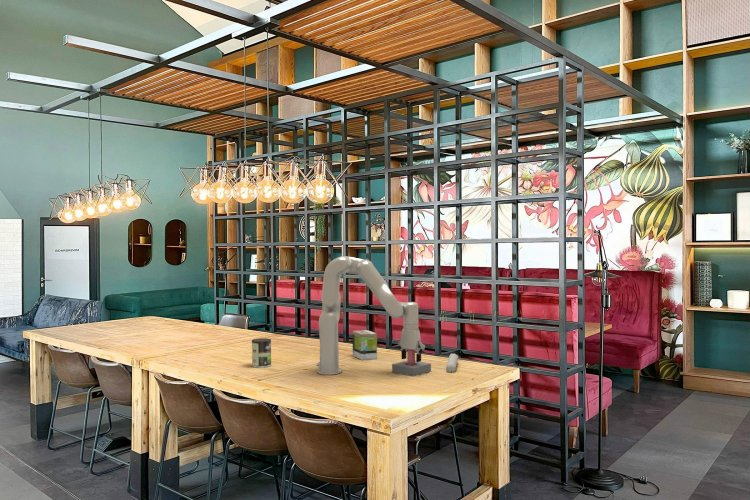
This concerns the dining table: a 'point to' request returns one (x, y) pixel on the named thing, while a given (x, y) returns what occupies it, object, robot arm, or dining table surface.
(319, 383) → the dining table surface
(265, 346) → the coffee can
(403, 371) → the socket block
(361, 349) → the tea box
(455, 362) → the tube
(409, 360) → the peg
